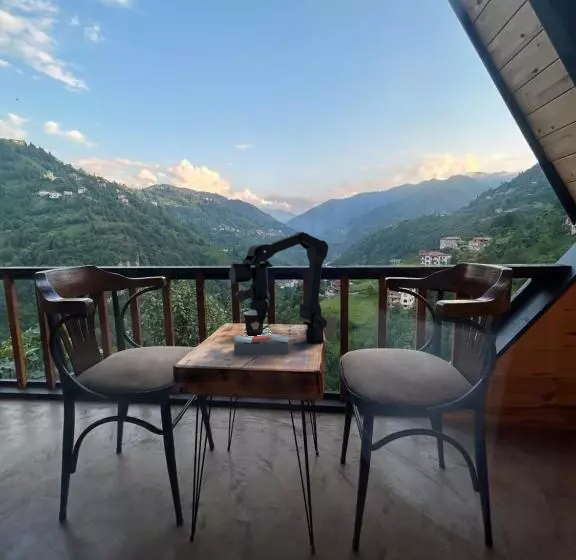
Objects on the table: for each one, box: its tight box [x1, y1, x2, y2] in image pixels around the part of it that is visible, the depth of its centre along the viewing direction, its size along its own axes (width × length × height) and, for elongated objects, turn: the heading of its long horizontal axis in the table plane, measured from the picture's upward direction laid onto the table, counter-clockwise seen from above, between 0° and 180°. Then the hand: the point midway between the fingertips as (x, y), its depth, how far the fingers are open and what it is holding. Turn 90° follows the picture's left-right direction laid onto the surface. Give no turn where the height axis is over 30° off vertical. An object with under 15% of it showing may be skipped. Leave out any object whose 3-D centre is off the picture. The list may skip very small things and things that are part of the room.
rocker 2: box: [270, 333, 289, 343], centre depth 128 cm, size 6×4×1 cm, turn 91°
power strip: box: [233, 336, 289, 357], centre depth 130 cm, size 19×8×5 cm, turn 92°
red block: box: [252, 334, 271, 342], centre depth 128 cm, size 6×4×1 cm, turn 92°
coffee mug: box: [243, 310, 274, 336], centre depth 150 cm, size 12×9×10 cm
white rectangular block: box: [233, 334, 252, 343], centre depth 128 cm, size 6×4×1 cm, turn 91°
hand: (261, 323), depth 129 cm, fingers closed
